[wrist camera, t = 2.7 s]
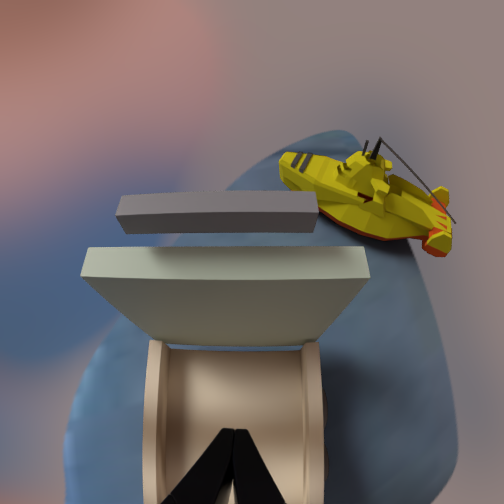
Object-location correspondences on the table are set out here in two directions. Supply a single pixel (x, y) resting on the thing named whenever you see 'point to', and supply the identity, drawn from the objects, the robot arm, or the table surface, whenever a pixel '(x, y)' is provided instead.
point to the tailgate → (226, 271)
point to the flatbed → (235, 415)
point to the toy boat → (372, 197)
